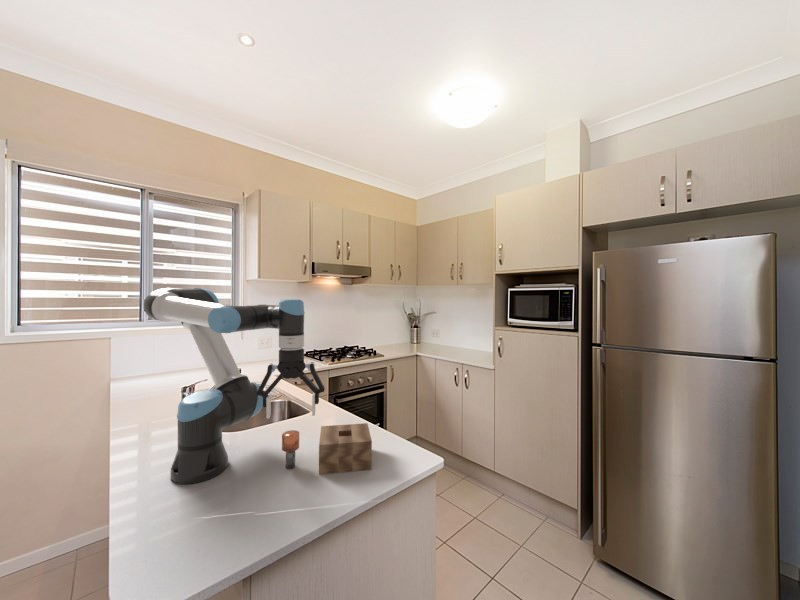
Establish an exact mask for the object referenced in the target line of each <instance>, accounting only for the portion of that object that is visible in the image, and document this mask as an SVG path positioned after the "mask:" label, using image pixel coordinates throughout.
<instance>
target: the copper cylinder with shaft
mask: <svg viewBox="0 0 800 600" xmlns="http://www.w3.org/2000/svg"><path fill="white" fill-rule="evenodd" d="M299 449H300V431H299V430H294V429H293V430H286V431H284V432H282V434H281V451H283V452H285V468H286V469H287V470H292V469H294V468H295V467H296V451H297V450H299Z"/></svg>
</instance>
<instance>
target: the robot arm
mask: <svg viewBox="0 0 800 600" xmlns="http://www.w3.org/2000/svg"><path fill="white" fill-rule="evenodd" d="M143 310H144V312H145V314H146V315H147V316H148V317H150V318H151V319H152V320H156V321H161V322H167V323H168V322H173V321H175V322H180V323H181V325H182V327H183V329H185V330H189V331H190V333H191V335H192V338H193V340H194V342H195V344H196V346H197V349H198V351H199V353H200V355H201V356H202V359H203V362H204V364H205V366H206V368H207V371H208V372H209V375H210V377H211V380H212V382H213V383H214V386H215V387H214V388H213V389H212V388H211V389H205V390H198V391H196V392H194V393H190V394H188V395H187V396H185V397H183V398H182V399H181V400H180V401H179V403H178V406H177V407H178V408H177V415H176V418H177V451H176V454H175V457H174V460H173V463H172V464H171V468H170V480H171V479H172V480H173V481H174V483H175V482H177V483H176V484H179V483H181V485H189V484H190V485H191V484H196V483H201V482H204V481H208V480H211V479H213V478H215V477H217V476H219V475H220V474H222V473H223V472H224V471H226V469H227V468H228V466H229V455H228V452H227V450H226V448H225V445H224V443H223V429H226V428H229V427H231V426H233V425H236V424H238V423H241V422H243V421H246V420H249V419H250V418H252V417H254V416H256V415H258V414H259V413H260V412H261V410H262V408H266V410H265V411H266V413H265V414H266V419H270V417H271V415H272V412H271V411H272V409H271V408H272V404H271V403H272V399H271V398H272V397H271V396H272V395H271V394H270V393H271V392H272V390H273V389H274V388H275V387H276V386H277V385H278V384H279V383H280V381H281V380H282V379H283V378H284V379H286V380H287V379H298V378H299V379H300V380H302V382H303V383H304V384H305V385H306V386H307V387H308V388H309V389H310V390H311V391H312V395H311V397H312V399H311V402H312V403H311V409H312V410H311V413H312V414H311V416H315V415H316V405H319V403H320V393H324V392H325V389H326V388H325V385H324V384H323V381H322V380H321V378H320V376H319V374H318V373H317V372H318V371H316V368H315V367H316V366H315V362H313V361H311V362H310V363H305V349H304V347H305V305H304V301H303V300H302V299H298V298H297V299H289V298H287V299H284V298H283V299H280V300H279V301H278V304H277V305H276V304H275V305H274V304H273V305H271V304H257V305H254V304H253V305H230V304H229V305H228V304H224V303H220V302H219V299H218V296H217V295H216V294H215V293H214V292H213V291H212V290H209V289H206V288H200V287H195V288H185V287H184V288H181V287H180V288H179V287H166V288H165V287H164V288H159V289H156V290H153V291H151V292H150V293H149V294H148V295H147V296H146V297H145V299H144V301H143ZM262 329H264V330H265V329H276V330H277V329H278V347H279V350H278V364H273V363H269V365H267V370H266V371H267V372H266V373H265V375H264V377H263V380H262V382H261V383H260V384H259V383H257V382H253V381H250V378H249V377H248V376H247V375H246V374H242V373H241V371H240V369H239V368H238V365H237V363H236V361H235V359H234V357H233V355H232V353H231V350H230V349H229V346H228V345H227V342H226V340H225V338H224V336H223V334H231V333H236V332H237V333H238V332H244V331H252V330H253V331H255V330H262ZM305 369H307V370H308V371H310V374H311V375H312V377H313V379H314V381H315V383H316V385H317V386H318V387H317V386H316V385H315V383H314V382H313V381H312V380H311V379H310V378H309V377H308V376H307V375H306V373H305V372H304V370H305ZM276 370H277V371H278V372H279V373H280V374H279V375H278V376H277V377H276V378H275V379H274V381H273V382H271V384H270V385H269V386H268V387H267V389H266V390H264V389H265V387H266V385H267V383H268V381H269V380H270V378H271V376H272V374H273V372H275V371H276ZM172 480H171V481H172ZM173 481H172V482H173Z"/></svg>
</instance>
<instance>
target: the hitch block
mask: <svg viewBox="0 0 800 600" xmlns="http://www.w3.org/2000/svg"><path fill="white" fill-rule="evenodd" d="M320 427H321V428H320V434H319V444H318V475H329V474H337V473H338V474H340V473H348V472H349V473H351V472H359V471H370V470H372V464H373V463H372V457H373V456H372V451H373V449H372V446H373V441H372V436H371V432H370V428H369V423H367V422H366V423H352V424H351V423H350V424H338V425H337V424H336V425H333V424H332V425H321V426H320Z"/></svg>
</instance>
